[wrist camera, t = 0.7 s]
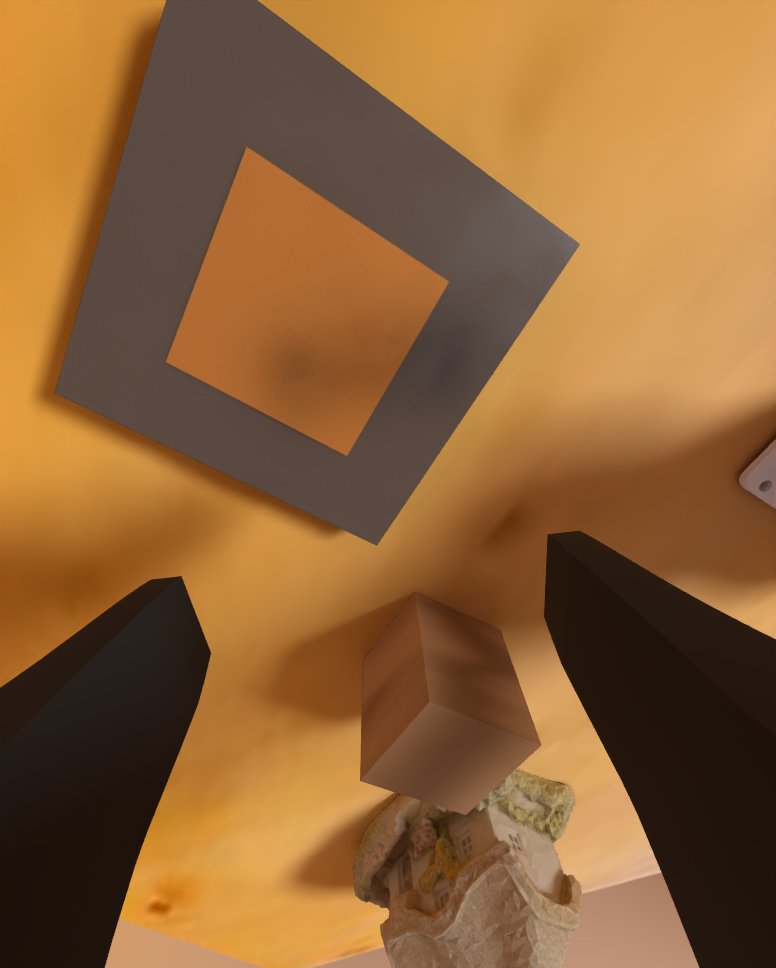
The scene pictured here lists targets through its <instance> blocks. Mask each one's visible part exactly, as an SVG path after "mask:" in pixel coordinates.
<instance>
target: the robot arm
mask: <svg viewBox="0 0 776 968" xmlns="http://www.w3.org/2000/svg"><path fill="white" fill-rule="evenodd" d="M764 481H765V482H764ZM763 482H764V484H763V485H762V486H760V485H761V483H763ZM739 484H740V485H741V486H742V487H743V488H744V489H746V490H747V491H749V492H750V493H752V494H754V495H755V496H757V497H758V498H760V499H761V500H763V501H764V502H766V503H767V504H769V505H770V506H772V507H773V508H775V509H776V439H775V440H774V441H773V442H772V443H771V444H770V445H769V446H768V447H767V448H766V449H765V450H764V451H763V452H762V453H761V454H760V455H759V456H758V457H757V458H756V459H755V460H754V461H753V462H752V463H751V464H750V465H749V466H748V467H747V469H746V470H745V471H744V472H743V473H742V474H741V475H740V478H739ZM759 486H760V487H759ZM544 617H545V620H546V623H547V626H548V629H549V631H550V634H551V637H552V640H553V643H554V645H555V648H556V651H557V653H558V656H559V658H560V661H561V664H562V666H563V668H564V670H565V672H566V674H567V676H568V678H569V680H570V682H571V684H572V686H573V688H574V690H575V692H576V693H577V695H578V697H579V699H580V701H581V703H582V705H583V707H584V709H585V711H586V713H587V715H588V717H589V719H590V721H591V723H592V725H593V726H594V728H595V730H596V732H597V734H598V736H599V738H600V740H601V742H602V744H603V746H604V748H605V750H606V752H607V753H608V755H609V757H610V759H611V761H612V763H613V765H614V767H615V769H616V771H617V773H618V775H619V777H620V779H621V781H622V782H623V784H624V787H625V789H626V791H627V793H628V795H629V797H630V799H631V801H632V804H633V806H634V808H635V810H636V812H637V814H638V817H639V819H640V821H641V824H642V826H643V829H644V831H645V833H646V836H647V838H648V841H649V843H650V846H651V848H652V850H653V853H654V855H655V858H656V860H657V862H658V865H659V867H660V870H661V872H662V875H663V877H664V879H665V882H666V884H667V887H668V889H669V892H670V894H671V897H672V899H673V902H674V904H675V907H676V909H677V912H678V914H679V917H680V919H681V922H682V925H683V927H684V929H685V932H686V935H687V937H688V940H689V942H690V945H691V947H692V950H693V952H694V955H695V958H696V960H697V962H698V965H699V968H776V639H774V638H772V637H770V636H768V635H766V634H764V633H762V632H760V631H758V630H756V629H754V628H752V627H750V626H748V625H746V624H744V623H742V622H740V621H738V620H736V619H734V618H732V617H730V616H728V615H727V614H725V613H723V612H721V611H719V610H717V609H715V608H713V607H711V606H709V605H707V604H706V603H704V602H702V601H700V600H698V599H697V598H695V597H693V596H691V595H689V594H687V593H686V592H684V591H682V590H680V589H679V588H677V587H675V586H673V585H672V584H670V583H668V582H666V581H665V580H663V579H661V578H659V577H658V576H656V575H654V574H653V573H651V572H649V571H648V570H646V569H644V568H642V567H641V566H639V565H637V564H636V563H634V562H632V561H631V560H629V559H627V558H626V557H624V556H622V555H621V554H619V553H617V552H616V551H614V550H612V549H611V548H609V547H607V546H606V545H604V544H602V543H601V542H599V541H597V540H595V539H594V538H592V537H590V536H588V535H586V534H585V533H583V532H581V531H574V532H565V533H556V534H548V539H547V562H546V585H545V608H544ZM210 655H211V652H210V649H209V647H208V644H207V641H206V639H205V636H204V634H203V631H202V628H201V626H200V623H199V621H198V618H197V616H196V613H195V610H194V608H193V605H192V603H191V600H190V597H189V595H188V592H187V590H186V587H185V584H184V582H183V579H182V577H181V576H179V577H170V578H162V579H153V580H150V581H148V582H147V583H145V584H143V585H142V586H140V587H139V588H137V589H136V590H134V591H133V592H131V593H130V594H129V595H127V596H126V597H124V598H123V599H122V600H120V601H119V602H117V603H116V604H115V605H113V606H112V607H111V608H109V609H108V610H107V611H105V612H104V613H102V614H101V615H100V616H98V617H97V618H96V619H94V620H93V621H92V622H90V623H89V624H88V625H86V626H85V627H84V628H82V629H81V630H80V631H78V632H77V633H76V634H74V635H73V636H72V637H70V638H69V639H68V640H66V641H65V642H64V643H62V644H61V645H60V646H58V647H57V648H55V649H54V650H53V651H51V652H50V653H49V654H47V655H46V656H45V657H43V658H42V659H41V660H39V661H38V662H36V663H35V664H34V665H32V666H31V667H29V668H28V669H26V670H25V671H24V672H22V673H21V674H19V675H18V676H17V677H15V678H14V679H12V680H11V681H9V682H8V683H7V684H5V685H4V686H2V687H1V688H0V968H105V965H106V960H107V957H108V954H109V950H110V947H111V943H112V940H113V936H114V933H115V930H116V926H117V923H118V920H119V917H120V913H121V910H122V907H123V903H124V900H125V897H126V894H127V890H128V887H129V884H130V881H131V877H132V874H133V871H134V867H135V864H136V861H137V859H138V856H139V853H140V850H141V848H142V845H143V842H144V839H145V837H146V834H147V831H148V829H149V826H150V824H151V821H152V819H153V816H154V814H155V811H156V809H157V806H158V804H159V801H160V799H161V796H162V794H163V791H164V789H165V786H166V784H167V781H168V779H169V776H170V774H171V771H172V769H173V766H174V764H175V761H176V759H177V756H178V754H179V751H180V749H181V746H182V744H183V741H184V739H185V736H186V734H187V731H188V729H189V726H190V724H191V721H192V718H193V716H194V713H195V710H196V708H197V705H198V702H199V699H200V695H201V691H202V688H203V684H204V680H205V676H206V672H207V668H208V663H209V659H210Z"/></svg>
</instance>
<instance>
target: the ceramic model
mask: <svg viewBox="0 0 776 968" xmlns="http://www.w3.org/2000/svg"><path fill="white" fill-rule="evenodd" d="M574 805H575V798H574V795H573V792H572V790H571V788H570V787H569V786H567V785H565V784H560V783H557V782H553V781H548V780H545V779H544V780H543V779H542V778H541V777H537V776H535V775H532V774H530V773H527V772H525V771H523V770H521V769H519V768H516V769H515V770H514V771H513V772H512V773H511V774H510V775H509V776H508V777H507V778H505V779H504V780H503V781H502V782H501V783H500V784H499V785H498V786H497V787H496V788H495V789H494V790H493V791H491V792H490V793H489V794H488V795H487V796H486V797H485V798H484V799H483V800H482V801H481V802H480V803H478V804H477V805H476V806H475V807H474V808H473V809H472V810H471V811H470V812H469V813H468V814H467V815H464V814H461V813H458V812H455V811H451V810H448V809H445V808H442V807H439V806H436V805H433V804H430V803H427V802H424V801H421V800H418V799H415V798H411V797H408V796H405V795H402V794H400V795H399V796H398V797H397V798H396V799H395V800H393V801H392V802H391V803H390V804H389V805H388V806H387V807H386V808H385V809H384V810H383V811H382V812H381V813H380V814H379V815H378V816H377V818H376V819H375V820H374V821H373V822H372V823H371V824H370V826H369V827H368V828H367V829H366V831H365V832H364V835H363V837H362V840H361V845H360V846H359V848H358V850H357V854H356V857H355V861H354V865H353V867H352V870H353V874H354V879H353V881H354V890H355V895H356V896H357V897H358V898H359V899H360V900H362V901H364V902H368V901H369V902H371V903H373V904H375V905H379V906H380V907H381V908H388V910H389V918H388V919H387V920H386V921H385V922H384V923H383V924H381V925H380V930H381V936H382V939H383V942H384V946H385V949H386V952H387V955H388V958H389V960H390V963H391V966H392V968H561V966H562V963H563V961H564V958H565V955H566V950H567V947H568V944H569V941H570V939H571V936H572V933H573V931H574V930H575V929H577V928H578V926H579V923H580V914H581V906H582V901H581V895H582V892H581V885H580V884H579V882H578V881H577V880H576V879H575V877H574V876H573V875H568V876H567V875H566V874H564V873H563V870H562V867H561V863H560V860H559V858H558V854H557V852H556V850H555V848H554V842H555V841H557V840H558V839H559V838H560V837H561V836H562V835H563V834H564V832H565V829H566V826H567V825H566V823H567V821H568V820H569V816H570V813H571V812H572V810H573V809H574Z"/></svg>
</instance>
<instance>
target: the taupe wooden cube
mask: <svg viewBox="0 0 776 968" xmlns="http://www.w3.org/2000/svg"><path fill="white" fill-rule="evenodd" d="M540 746H541V743H540V740H539V737H538V735H537V732H536V729H535V726H534V723H533V720H532V718H531V715H530V712H529V709H528V706H527V704H526V701H525V698H524V695H523V692H522V690H521V687H520V684H519V681H518V678H517V675H516V673H515V670H514V667H513V664H512V661H511V659H510V656H509V653H508V650H507V647H506V644H505V642H504V639H503V636H502V633H501V631H500V630H498V629H496V628H494V627H491V626H489V625H487V624H485V623H483V622H480V621H478V620H476V619H474V618H472V617H469V616H467V615H465V614H463V613H461V612H459V611H456V610H454V609H452V608H450V607H448V606H445V605H443V604H441V603H439V602H437V601H434V600H432V599H430V598H428V597H426V596H423V595H421V594H419V593H417V592H414V593H413V595H412V596H411V597H410V599H409V600H408V601H407V603H406V604H405V605H404V607H403V608H402V609H401V611H400V612H399V613H398V615H397V616H396V617H395V619H394V620H393V621H392V623H391V624H390V625H389V627H388V628H387V629H386V631H385V632H384V633H383V635H382V636H381V637H380V639H379V640H378V641H377V643H376V644H375V645H374V647H373V648H372V649H371V651H370V652H369V653H368V655H367V656H366V657H365V659H364V660H363V675H362V721H361V766H360V781H362V782H365V783H368V784H371V785H374V786H378V787H381V788H384V789H387V790H390V791H393V792H396V793H399V794H402V795H405V796H408V797H411V798H415V799H418V800H421V801H424V802H427V803H430V804H433V805H436V806H439V807H442V808H445V809H448V810H451V811H455V812H458V813H461V814H464V815H467V814H468V813H469V812H470V811H471V810H472V809H473V808H474V807H475V806H476V805H477V804H478V803H480V802H481V801H482V800H483V799H484V798H485V797H486V796H487V795H488V794H489V793H490V792H491V791H493V790H494V789H495V788H496V787H497V786H498V785H499V784H500V783H501V782H502V781H503V780H504V779H505V778H507V777H508V776H509V775H510V774H511V773H512V772H513V771H514V770H515V769H516V768H517V767H518V766H520V765H521V764H522V763H523V762H524V761H525V760H526V759H527V758H528V757H529V756H530V755H531V754H533V753H534V752H535V751H536V750H537V749H538V748H539V747H540Z"/></svg>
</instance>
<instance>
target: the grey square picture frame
mask: <svg viewBox="0 0 776 968" xmlns="http://www.w3.org/2000/svg"><path fill="white" fill-rule="evenodd" d="M579 245H580V244H579V243H578V242H576V241H575V240H574V239H572V238H571V237H570V236H568V235H567V234H566V233H564V232H563V231H562V230H560V229H559V228H558V227H556V226H555V225H554V224H553V223H551V222H550V221H549V220H547V219H546V218H545V217H543V216H542V215H541V214H539V213H538V212H537V211H535V210H534V209H533V208H531V207H530V206H529V205H527V204H526V203H525V202H523V201H522V200H521V199H519V198H518V197H517V196H515V195H514V194H513V193H512V192H510V191H509V190H508V189H506V188H505V187H504V186H502V185H501V184H500V183H498V182H497V181H496V180H494V179H493V178H492V177H490V176H489V175H488V174H486V173H485V172H484V171H482V170H481V169H480V168H478V167H477V166H476V165H474V164H473V163H472V162H470V161H469V160H468V159H467V158H465V157H464V156H463V155H461V154H460V153H459V152H457V151H456V150H455V149H453V148H452V147H451V146H449V145H448V144H447V143H445V142H444V141H443V140H441V139H440V138H439V137H437V136H436V135H435V134H433V133H432V132H431V131H429V130H428V129H427V128H425V127H424V126H423V125H422V124H420V123H419V122H418V121H416V120H415V119H414V118H412V117H411V116H410V115H408V114H407V113H406V112H404V111H403V110H402V109H400V108H399V107H398V106H396V105H395V104H394V103H392V102H391V101H390V100H388V99H387V98H386V97H384V96H383V95H382V94H380V93H379V92H378V91H377V90H375V89H374V88H373V87H371V86H370V85H369V84H367V83H366V82H365V81H363V80H362V79H361V78H359V77H358V76H357V75H355V74H354V73H353V72H351V71H350V70H349V69H347V68H346V67H345V66H343V65H342V64H341V63H339V62H338V61H337V60H336V59H334V58H333V57H332V56H330V55H329V54H328V53H326V52H325V51H324V50H322V49H321V48H320V47H318V46H317V45H316V44H314V43H313V42H312V41H310V40H309V39H308V38H306V37H305V36H304V35H302V34H301V33H300V32H298V31H297V30H296V29H294V28H293V27H292V26H291V25H289V24H288V23H287V22H285V21H284V20H283V19H281V18H280V17H279V16H277V15H276V14H275V13H273V12H272V11H271V10H269V9H268V8H267V7H265V6H264V5H263V4H261V3H260V2H259V1H257V0H166V3H165V7H164V10H163V14H162V17H161V21H160V24H159V28H158V31H157V35H156V38H155V42H154V45H153V49H152V52H151V56H150V59H149V63H148V66H147V70H146V74H145V77H144V81H143V84H142V88H141V91H140V95H139V98H138V102H137V105H136V109H135V112H134V116H133V119H132V123H131V126H130V130H129V133H128V137H127V140H126V144H125V147H124V151H123V154H122V158H121V161H120V165H119V168H118V172H117V176H116V179H115V183H114V186H113V190H112V193H111V197H110V200H109V204H108V207H107V211H106V214H105V218H104V221H103V225H102V228H101V232H100V235H99V239H98V242H97V246H96V249H95V253H94V256H93V260H92V263H91V267H90V270H89V274H88V277H87V281H86V285H85V288H84V292H83V295H82V299H81V302H80V306H79V309H78V313H77V316H76V320H75V323H74V327H73V330H72V334H71V337H70V341H69V344H68V348H67V351H66V355H65V358H64V362H63V365H62V369H61V372H60V376H59V379H58V383H57V387H56V390H55V394H58V395H60V396H62V397H64V398H66V399H68V400H70V401H72V402H75V403H77V404H79V405H81V406H83V407H85V408H87V409H89V410H91V411H94V412H96V413H98V414H100V415H102V416H104V417H106V418H108V419H110V420H113V421H115V422H117V423H119V424H121V425H123V426H125V427H127V428H129V429H132V430H134V431H136V432H138V433H140V434H142V435H144V436H146V437H148V438H151V439H153V440H155V441H157V442H159V443H161V444H163V445H165V446H167V447H170V448H172V449H174V450H176V451H178V452H180V453H182V454H184V455H186V456H189V457H191V458H193V459H195V460H197V461H199V462H201V463H203V464H205V465H208V466H210V467H212V468H214V469H216V470H218V471H220V472H222V473H225V474H227V475H229V476H231V477H233V478H235V479H237V480H239V481H241V482H244V483H246V484H248V485H250V486H252V487H254V488H256V489H258V490H260V491H263V492H265V493H267V494H269V495H271V496H273V497H275V498H277V499H279V500H282V501H284V502H286V503H288V504H290V505H292V506H294V507H296V508H298V509H301V510H303V511H305V512H307V513H309V514H311V515H313V516H315V517H317V518H320V519H322V520H324V521H326V522H328V523H330V524H332V525H334V526H336V527H339V528H341V529H343V530H345V531H347V532H349V533H351V534H353V535H355V536H358V537H360V538H362V539H364V540H366V541H368V542H370V543H372V544H375V545H378V543H379V542H380V540H381V539H382V537H383V536H384V534H385V533H386V531H387V530H388V528H389V527H390V525H391V524H392V522H393V521H394V520H395V518H396V517H397V515H398V514H399V512H400V511H401V509H402V508H403V506H404V505H405V503H406V502H407V500H408V499H409V497H410V496H411V494H412V493H413V491H414V490H415V488H416V487H417V485H418V484H419V482H420V481H421V479H422V478H423V476H424V475H425V474H426V472H427V471H428V469H429V468H430V466H431V465H432V463H433V462H434V460H435V459H436V457H437V456H438V454H439V453H440V451H441V450H442V448H443V447H444V445H445V444H446V442H447V441H448V439H449V438H450V436H451V435H452V433H453V432H454V430H455V429H456V428H457V426H458V425H459V423H460V422H461V420H462V419H463V417H464V416H465V414H466V413H467V411H468V410H469V408H470V407H471V405H472V404H473V402H474V401H475V399H476V398H477V396H478V395H479V393H480V392H481V390H482V389H483V387H484V386H485V384H486V383H487V382H488V380H489V379H490V377H491V376H492V374H493V373H494V371H495V370H496V368H497V367H498V365H499V364H500V362H501V361H502V359H503V358H504V356H505V355H506V353H507V352H508V350H509V349H510V347H511V346H512V344H513V343H514V341H515V340H516V338H517V337H518V336H519V334H520V333H521V331H522V330H523V328H524V327H525V325H526V324H527V322H528V321H529V319H530V318H531V316H532V315H533V313H534V312H535V310H536V309H537V307H538V306H539V304H540V303H541V301H542V300H543V298H544V297H545V295H546V294H547V292H548V291H549V290H550V288H551V287H552V285H553V284H554V282H555V281H556V279H557V278H558V276H559V275H560V273H561V272H562V270H563V269H564V267H565V266H566V264H567V263H568V261H569V260H570V258H571V257H572V255H573V254H574V252H575V251H576V249H577V248H578V246H579Z"/></svg>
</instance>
